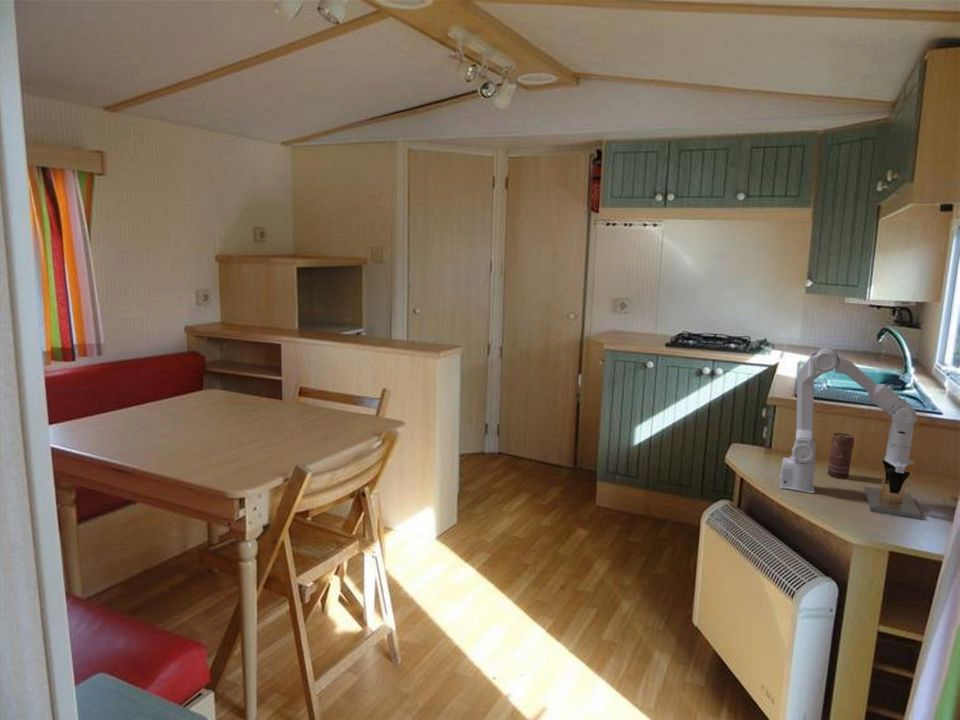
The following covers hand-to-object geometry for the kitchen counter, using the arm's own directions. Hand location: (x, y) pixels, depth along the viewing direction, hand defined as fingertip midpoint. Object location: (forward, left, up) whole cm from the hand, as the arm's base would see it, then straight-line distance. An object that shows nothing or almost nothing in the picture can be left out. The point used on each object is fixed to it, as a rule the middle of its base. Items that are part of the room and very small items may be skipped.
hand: (892, 489), depth 190 cm
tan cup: (0, 0, -3) cm, 3 cm away
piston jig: (0, 0, -5) cm, 5 cm away
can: (-12, +21, -5) cm, 25 cm away
